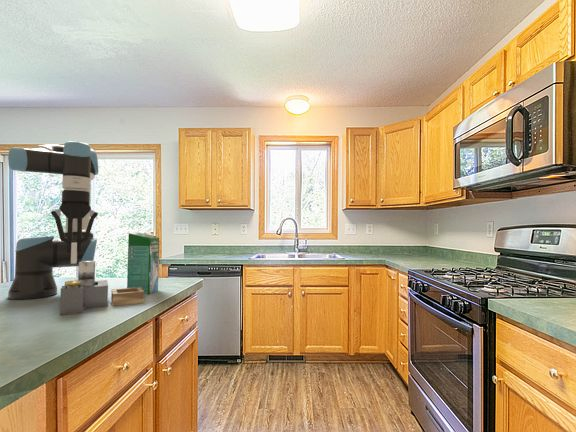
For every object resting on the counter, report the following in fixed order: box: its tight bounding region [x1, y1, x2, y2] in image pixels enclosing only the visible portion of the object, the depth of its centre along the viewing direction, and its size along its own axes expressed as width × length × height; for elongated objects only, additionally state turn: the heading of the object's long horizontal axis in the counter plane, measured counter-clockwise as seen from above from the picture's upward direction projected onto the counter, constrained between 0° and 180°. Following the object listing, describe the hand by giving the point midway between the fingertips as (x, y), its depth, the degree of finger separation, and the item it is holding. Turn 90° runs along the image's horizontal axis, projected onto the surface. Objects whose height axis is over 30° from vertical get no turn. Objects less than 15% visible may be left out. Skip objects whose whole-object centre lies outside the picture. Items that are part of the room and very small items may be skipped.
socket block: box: [59, 279, 109, 316], centre depth 111 cm, size 19×13×8 cm
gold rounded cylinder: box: [64, 280, 81, 288], centre depth 103 cm, size 4×4×7 cm
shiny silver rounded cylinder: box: [77, 260, 96, 286], centre depth 113 cm, size 5×5×12 cm
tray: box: [110, 287, 145, 307], centre depth 118 cm, size 10×10×4 cm
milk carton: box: [126, 232, 160, 296], centre depth 135 cm, size 9×9×25 cm
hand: (73, 262), depth 104 cm, fingers closed
